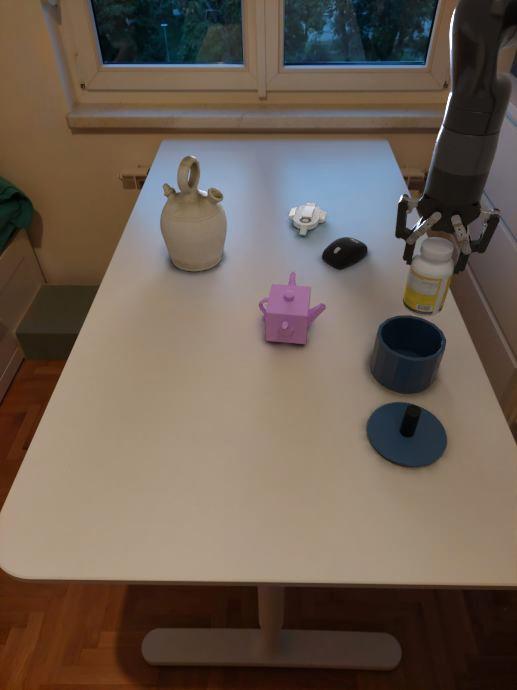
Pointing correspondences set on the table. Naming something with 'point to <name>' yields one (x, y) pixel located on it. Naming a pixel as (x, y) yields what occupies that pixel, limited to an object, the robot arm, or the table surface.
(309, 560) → the table surface
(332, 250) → the computer mouse
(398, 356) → the pot
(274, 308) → the teapot
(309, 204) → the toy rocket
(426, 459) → the lid
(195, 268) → the jug
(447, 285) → the pill bottle
